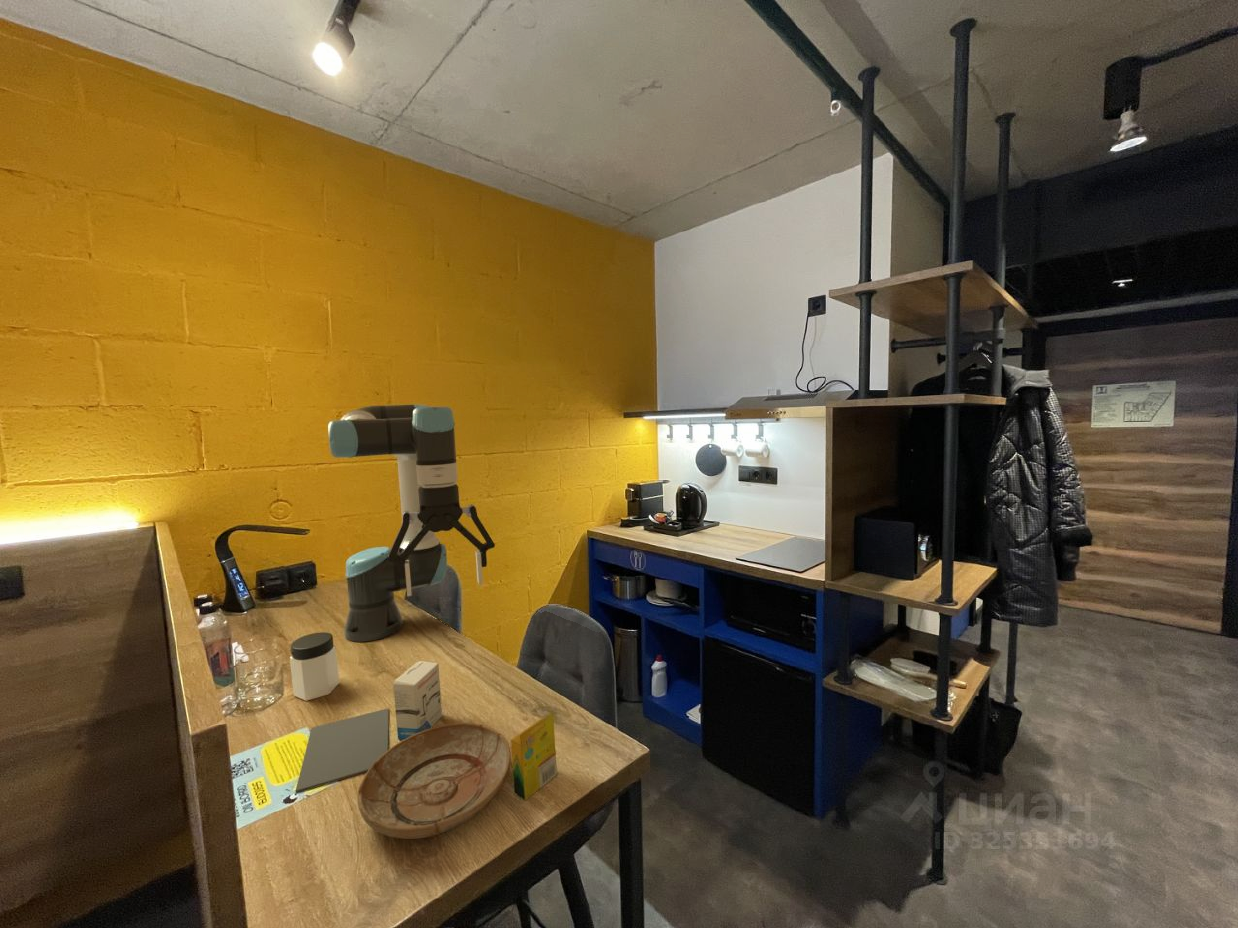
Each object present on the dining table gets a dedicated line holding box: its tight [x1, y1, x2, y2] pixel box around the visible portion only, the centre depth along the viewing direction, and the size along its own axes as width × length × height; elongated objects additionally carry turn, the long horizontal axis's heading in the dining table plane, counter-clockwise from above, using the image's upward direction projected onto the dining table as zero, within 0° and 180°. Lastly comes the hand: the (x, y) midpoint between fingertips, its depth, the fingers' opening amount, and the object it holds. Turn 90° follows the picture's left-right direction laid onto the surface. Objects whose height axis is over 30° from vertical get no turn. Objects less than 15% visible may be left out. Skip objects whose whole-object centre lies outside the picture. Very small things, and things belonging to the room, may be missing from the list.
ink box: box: [392, 660, 443, 741], centre depth 98 cm, size 9×5×12 cm, turn 168°
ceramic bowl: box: [357, 722, 512, 840], centre depth 81 cm, size 23×24×5 cm
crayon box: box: [510, 712, 558, 802], centre depth 82 cm, size 7×3×12 cm, turn 140°
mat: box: [295, 708, 389, 794], centre depth 93 cm, size 18×14×1 cm
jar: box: [289, 631, 340, 702], centre depth 112 cm, size 9×8×12 cm
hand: (445, 588), depth 100 cm, fingers open, 13 cm apart
